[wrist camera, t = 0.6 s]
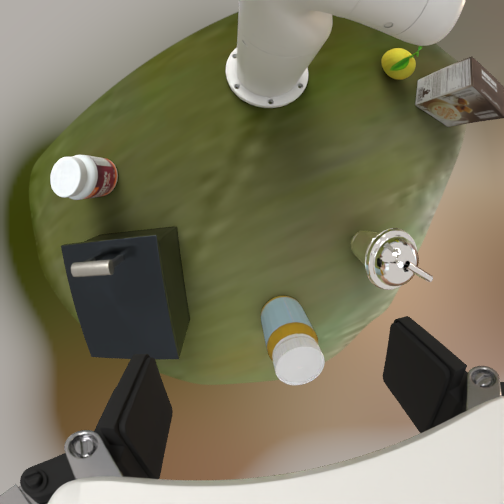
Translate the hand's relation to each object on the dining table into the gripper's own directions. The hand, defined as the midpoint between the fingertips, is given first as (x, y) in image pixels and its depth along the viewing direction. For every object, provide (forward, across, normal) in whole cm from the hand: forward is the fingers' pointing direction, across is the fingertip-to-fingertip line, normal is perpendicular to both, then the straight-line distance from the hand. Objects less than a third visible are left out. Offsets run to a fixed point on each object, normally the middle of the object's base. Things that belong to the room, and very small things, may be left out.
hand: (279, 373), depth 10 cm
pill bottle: (+34, +21, -12) cm, 41 cm away
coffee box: (+33, -38, -22) cm, 55 cm away
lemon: (+33, -28, -27) cm, 51 cm away
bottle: (+34, -5, +14) cm, 37 cm away
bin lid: (+23, +17, +5) cm, 29 cm away
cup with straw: (+34, -19, +4) cm, 39 cm away
